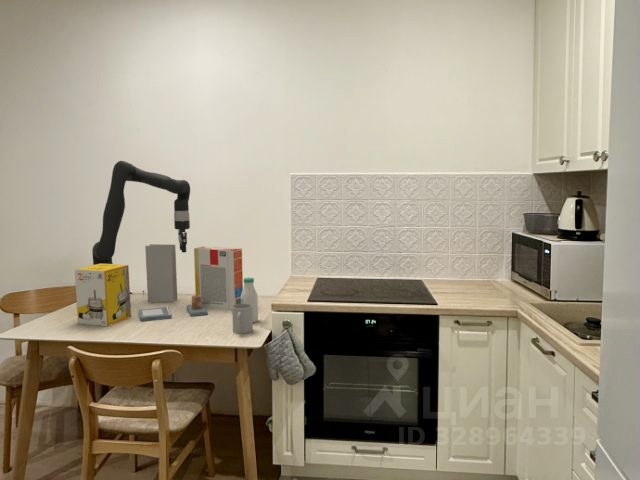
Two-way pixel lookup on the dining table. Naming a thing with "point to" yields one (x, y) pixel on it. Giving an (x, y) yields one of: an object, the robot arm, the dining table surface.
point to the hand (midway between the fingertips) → (183, 251)
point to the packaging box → (102, 294)
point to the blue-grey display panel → (154, 314)
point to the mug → (242, 318)
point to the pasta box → (218, 276)
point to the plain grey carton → (161, 273)
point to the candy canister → (250, 297)
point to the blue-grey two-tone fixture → (196, 307)
